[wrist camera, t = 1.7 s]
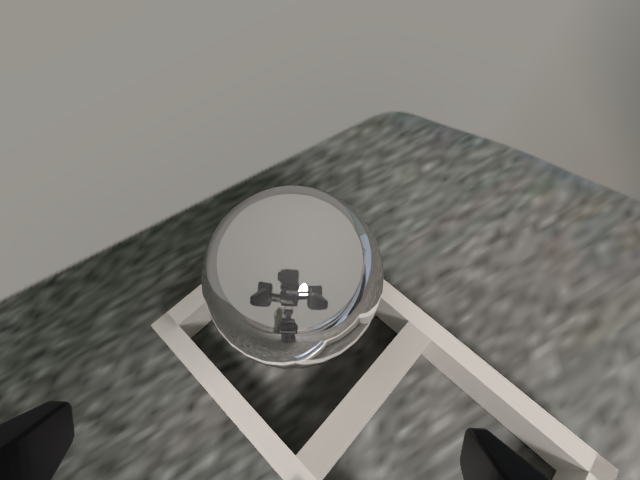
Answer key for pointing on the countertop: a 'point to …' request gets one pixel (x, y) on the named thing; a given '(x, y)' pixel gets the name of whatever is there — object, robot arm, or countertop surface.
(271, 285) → the light bulb
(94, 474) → the countertop surface
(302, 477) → the white tray
